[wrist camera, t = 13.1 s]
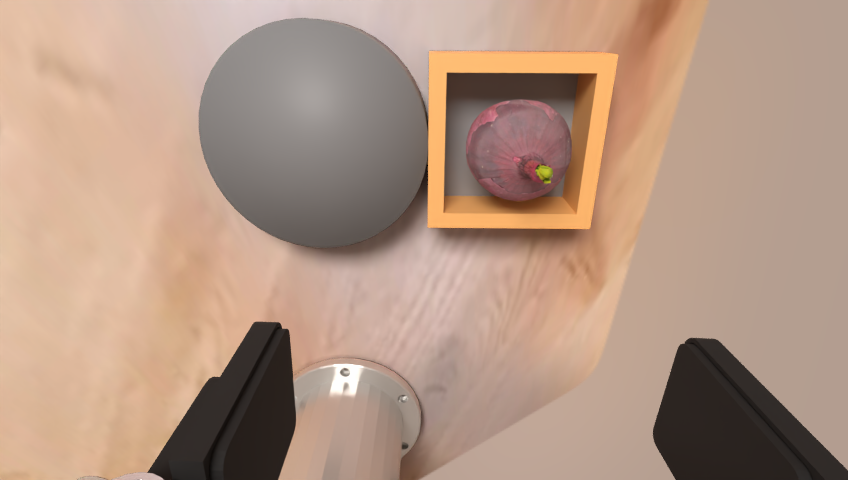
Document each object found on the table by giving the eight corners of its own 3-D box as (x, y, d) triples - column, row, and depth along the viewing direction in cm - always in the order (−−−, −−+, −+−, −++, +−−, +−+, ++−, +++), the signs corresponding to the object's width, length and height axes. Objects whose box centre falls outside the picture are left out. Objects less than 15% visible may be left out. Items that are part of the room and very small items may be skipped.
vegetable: (558, 172, 32) (609, 227, 23) (470, 189, 33) (486, 250, 24) (549, 81, 30) (603, 103, 21) (454, 101, 30) (465, 131, 21)
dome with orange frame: (569, 230, 34) (585, 253, 31) (239, 227, 35) (217, 250, 31) (599, 21, 29) (624, 19, 25) (204, 19, 29) (171, 17, 25)
